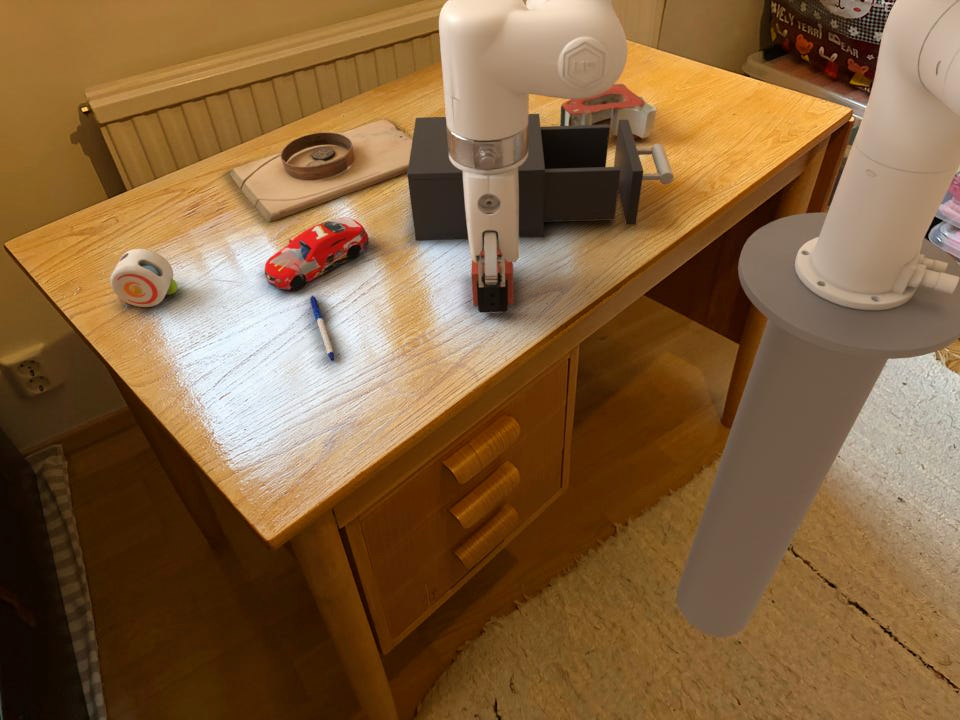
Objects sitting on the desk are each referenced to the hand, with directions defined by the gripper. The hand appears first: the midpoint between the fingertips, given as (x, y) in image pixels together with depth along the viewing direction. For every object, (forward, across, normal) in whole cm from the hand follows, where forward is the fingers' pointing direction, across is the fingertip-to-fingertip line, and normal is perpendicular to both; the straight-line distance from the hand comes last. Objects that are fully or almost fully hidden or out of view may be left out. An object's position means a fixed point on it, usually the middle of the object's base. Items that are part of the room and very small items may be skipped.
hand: (492, 287), depth 78 cm
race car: (+1, +6, +21) cm, 22 cm away
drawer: (0, +17, -12) cm, 21 cm away
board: (+1, +28, +23) cm, 36 cm away
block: (+1, 0, 0) cm, 1 cm away
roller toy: (+1, 0, +39) cm, 39 cm away
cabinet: (+1, +17, +2) cm, 17 cm away
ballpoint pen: (+1, -6, +18) cm, 19 cm away
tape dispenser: (+1, +39, -17) cm, 42 cm away
